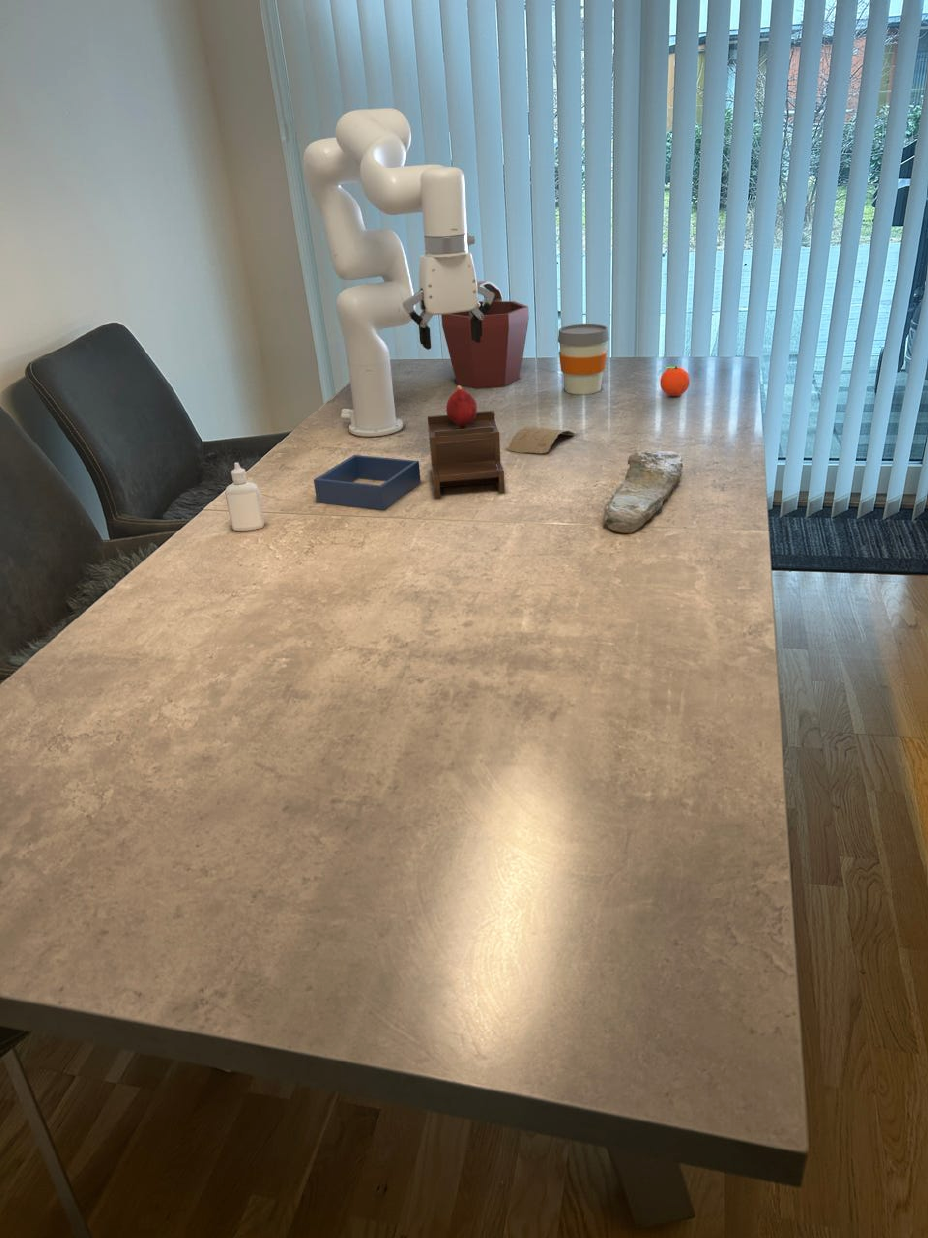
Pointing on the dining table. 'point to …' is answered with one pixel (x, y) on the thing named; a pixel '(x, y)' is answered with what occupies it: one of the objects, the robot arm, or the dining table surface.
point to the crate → (343, 491)
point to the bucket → (488, 342)
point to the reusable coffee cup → (583, 356)
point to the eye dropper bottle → (243, 502)
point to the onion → (461, 407)
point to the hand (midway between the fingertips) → (451, 344)
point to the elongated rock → (642, 490)
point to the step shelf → (465, 452)
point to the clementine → (674, 381)
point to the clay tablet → (535, 439)
